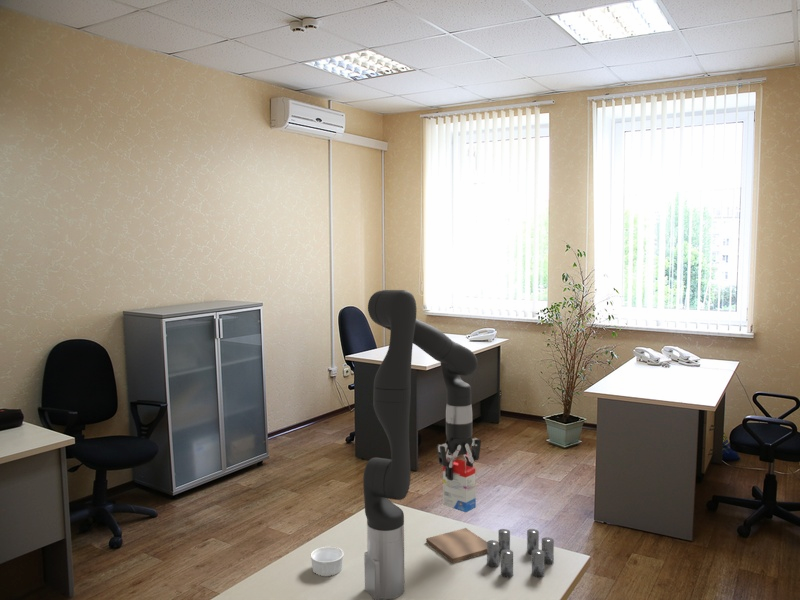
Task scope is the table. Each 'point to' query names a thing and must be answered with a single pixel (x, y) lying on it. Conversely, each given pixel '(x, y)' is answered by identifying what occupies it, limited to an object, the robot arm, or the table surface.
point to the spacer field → (532, 548)
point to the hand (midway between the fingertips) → (459, 477)
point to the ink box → (460, 487)
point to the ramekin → (327, 561)
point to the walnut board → (458, 545)
